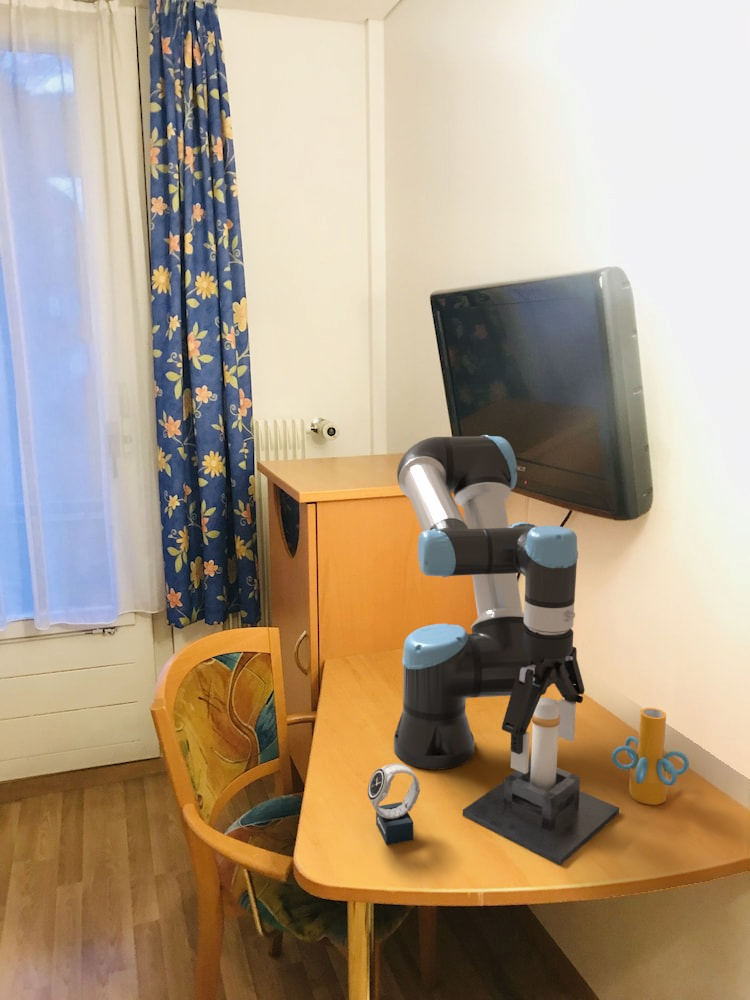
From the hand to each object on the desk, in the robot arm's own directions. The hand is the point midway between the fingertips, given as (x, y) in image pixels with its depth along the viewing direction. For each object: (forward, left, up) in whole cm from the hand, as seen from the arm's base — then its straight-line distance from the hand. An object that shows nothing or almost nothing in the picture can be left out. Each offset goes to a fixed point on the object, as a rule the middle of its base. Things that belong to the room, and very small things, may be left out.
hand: (543, 753), depth 123 cm
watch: (-14, -20, -11) cm, 27 cm away
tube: (0, 0, -10) cm, 10 cm away
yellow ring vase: (+10, +17, -11) cm, 23 cm away
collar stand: (0, 0, -11) cm, 11 cm away
